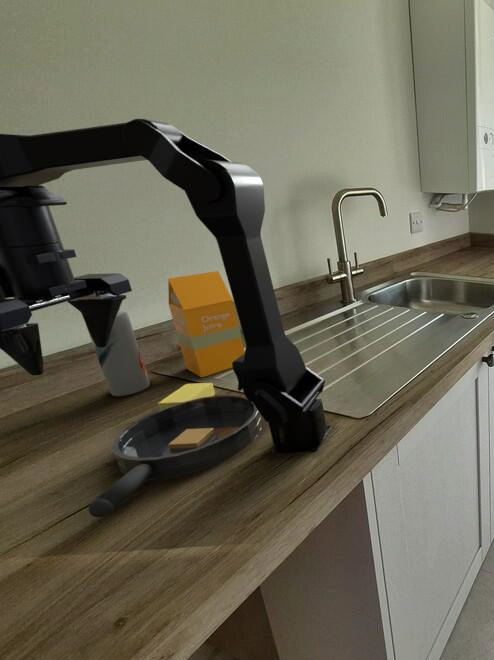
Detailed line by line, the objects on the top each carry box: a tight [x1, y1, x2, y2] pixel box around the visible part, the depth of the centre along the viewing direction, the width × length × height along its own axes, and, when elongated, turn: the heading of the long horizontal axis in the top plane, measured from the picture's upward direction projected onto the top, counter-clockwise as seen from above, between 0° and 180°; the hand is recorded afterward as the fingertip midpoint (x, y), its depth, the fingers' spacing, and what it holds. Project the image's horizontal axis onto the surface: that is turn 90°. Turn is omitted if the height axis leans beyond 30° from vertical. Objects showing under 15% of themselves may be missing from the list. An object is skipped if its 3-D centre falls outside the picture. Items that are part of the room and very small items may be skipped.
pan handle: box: [88, 464, 153, 518], centre depth 49 cm, size 2×8×2 cm, turn 4°
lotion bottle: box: [85, 308, 151, 397], centre depth 75 cm, size 6×6×20 cm
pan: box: [111, 394, 263, 481], centre depth 61 cm, size 17×17×4 cm
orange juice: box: [167, 270, 245, 378], centre depth 85 cm, size 8×9×20 cm
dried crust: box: [168, 428, 214, 449], centre depth 61 cm, size 4×4×1 cm
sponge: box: [157, 382, 216, 410], centre depth 71 cm, size 7×4×3 cm, turn 4°
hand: (72, 359), depth 56 cm, fingers open, 9 cm apart
